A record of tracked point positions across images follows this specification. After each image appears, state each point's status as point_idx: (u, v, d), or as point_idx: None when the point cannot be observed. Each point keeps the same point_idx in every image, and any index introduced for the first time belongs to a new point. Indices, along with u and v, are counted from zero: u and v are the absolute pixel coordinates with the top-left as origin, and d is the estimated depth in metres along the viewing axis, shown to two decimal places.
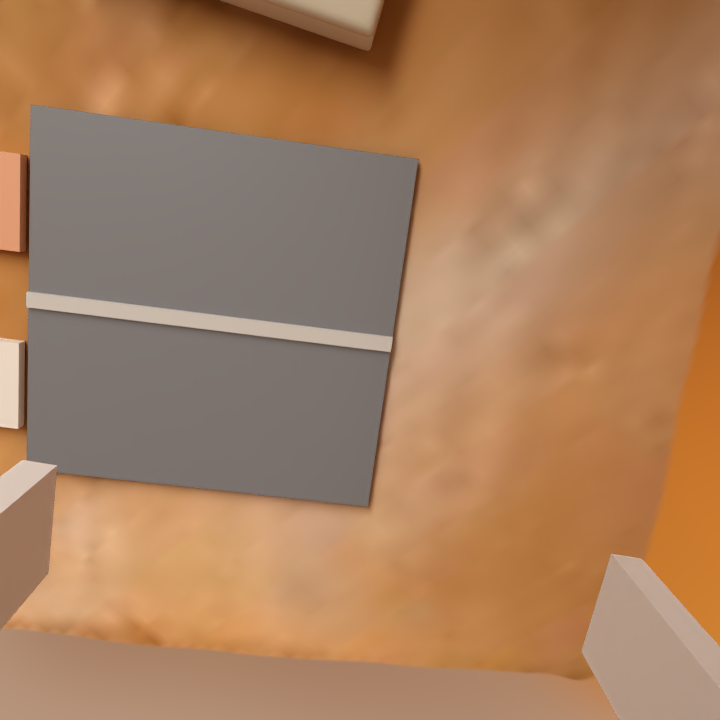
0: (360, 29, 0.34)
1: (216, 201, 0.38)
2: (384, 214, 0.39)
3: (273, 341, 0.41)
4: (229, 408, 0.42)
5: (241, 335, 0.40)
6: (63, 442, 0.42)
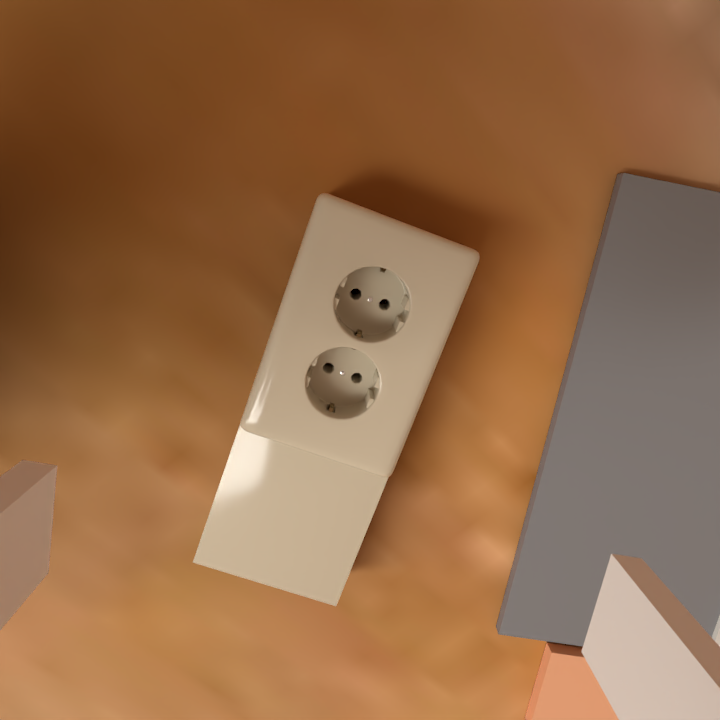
0: (474, 268, 0.25)
1: (635, 444, 0.30)
2: (689, 225, 0.28)
3: None
4: None
5: None
6: None
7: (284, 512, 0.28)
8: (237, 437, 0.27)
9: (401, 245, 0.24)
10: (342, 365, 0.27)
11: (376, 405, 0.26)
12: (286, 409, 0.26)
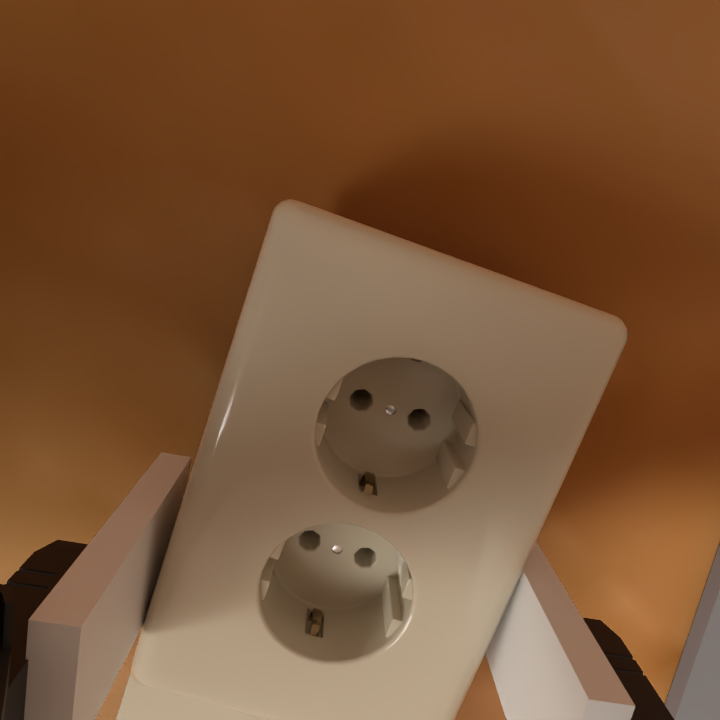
0: (616, 357, 0.12)
1: None
2: None
3: None
4: None
5: None
6: None
7: None
8: (131, 682, 0.14)
9: (460, 312, 0.11)
10: (337, 535, 0.14)
11: (406, 636, 0.13)
12: (219, 646, 0.13)
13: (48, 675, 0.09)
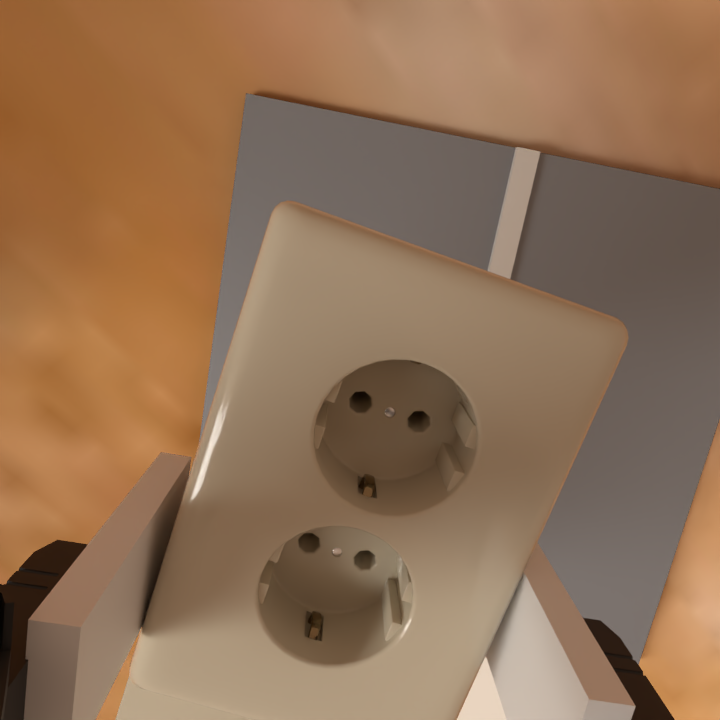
0: (617, 359, 0.12)
1: None
2: (326, 151, 0.26)
3: None
4: None
5: None
6: (608, 621, 0.31)
7: None
8: (129, 686, 0.14)
9: (460, 314, 0.11)
10: (336, 538, 0.14)
11: (406, 639, 0.12)
12: (218, 650, 0.12)
13: (48, 675, 0.09)
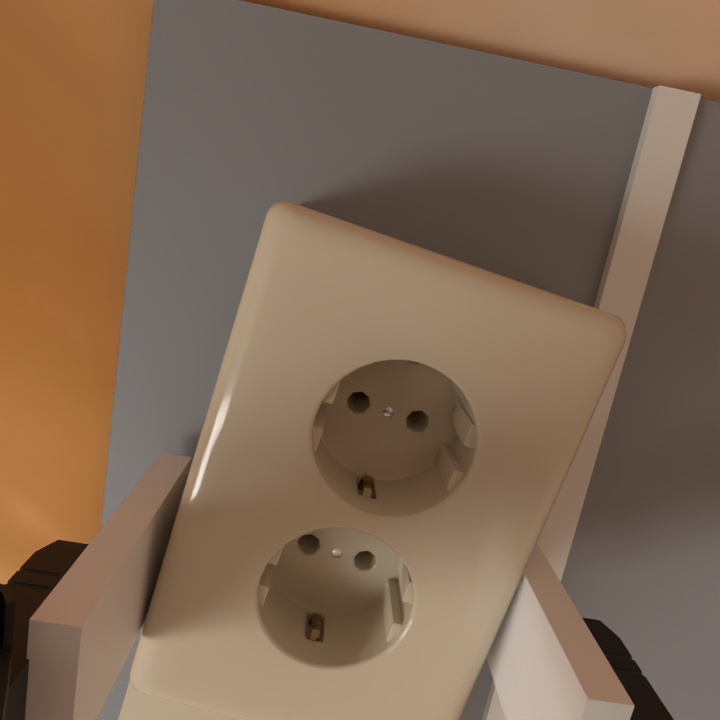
0: (616, 356, 0.12)
1: None
2: (307, 94, 0.14)
3: (614, 417, 0.16)
4: None
5: (587, 491, 0.16)
6: None
7: None
8: (130, 690, 0.14)
9: (457, 313, 0.11)
10: (336, 539, 0.14)
11: (407, 640, 0.12)
12: (219, 653, 0.12)
13: (49, 675, 0.09)
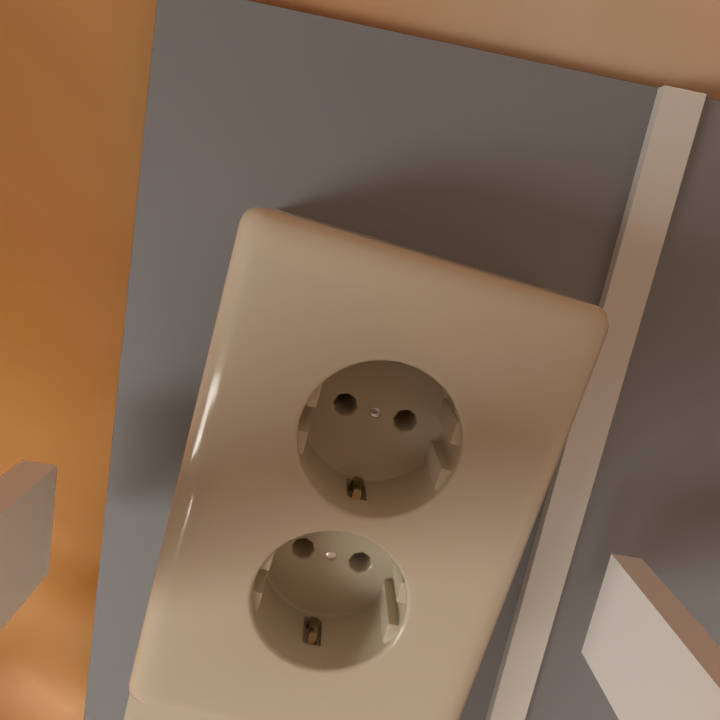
0: (599, 347, 0.11)
1: None
2: (310, 94, 0.14)
3: (619, 418, 0.16)
4: None
5: (591, 492, 0.16)
6: None
7: None
8: (131, 701, 0.14)
9: (435, 311, 0.11)
10: (329, 541, 0.14)
11: (403, 640, 0.12)
12: (215, 660, 0.12)
13: None
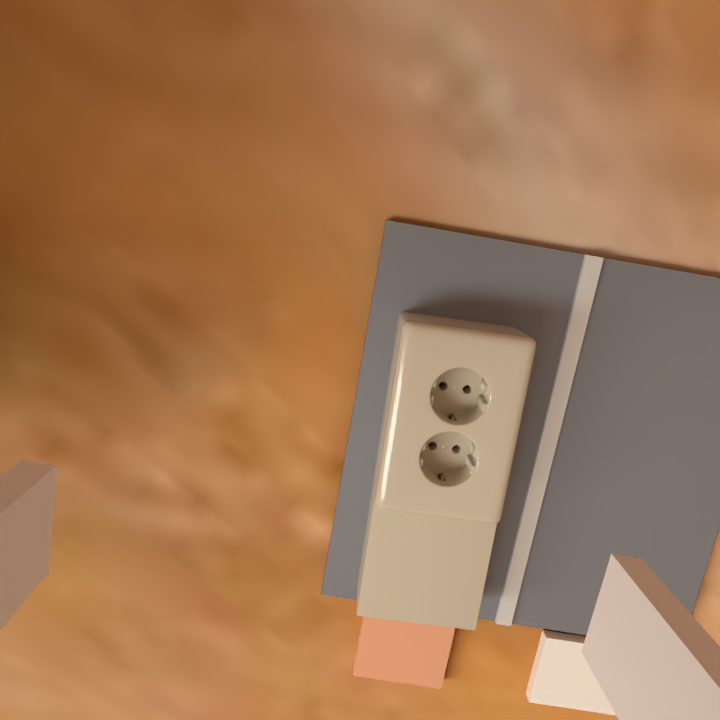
0: (534, 352, 0.32)
1: None
2: (443, 260, 0.35)
3: (574, 390, 0.36)
4: (644, 442, 0.37)
5: (562, 423, 0.37)
6: None
7: (420, 564, 0.35)
8: (373, 513, 0.35)
9: (473, 348, 0.32)
10: (443, 442, 0.35)
11: (478, 470, 0.33)
12: (408, 487, 0.33)
13: None
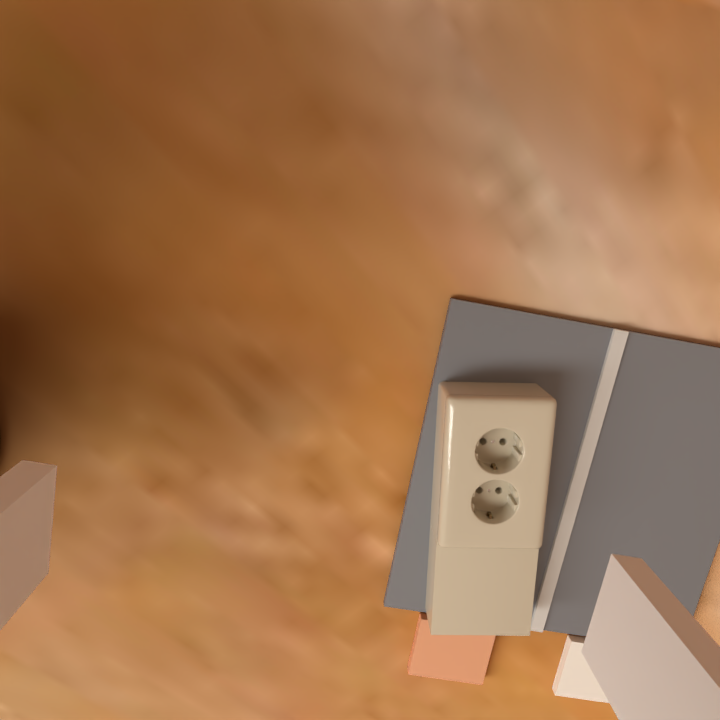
0: (555, 409, 0.39)
1: None
2: (497, 331, 0.42)
3: (600, 438, 0.44)
4: (657, 481, 0.45)
5: (590, 465, 0.44)
6: None
7: (479, 587, 0.43)
8: (437, 551, 0.42)
9: (506, 412, 0.39)
10: (487, 486, 0.42)
11: (520, 508, 0.40)
12: (465, 527, 0.41)
13: None
